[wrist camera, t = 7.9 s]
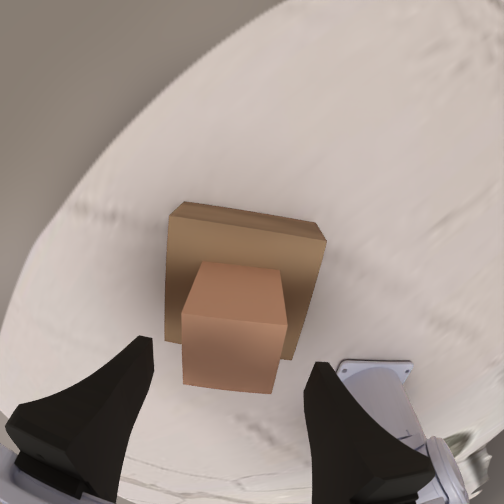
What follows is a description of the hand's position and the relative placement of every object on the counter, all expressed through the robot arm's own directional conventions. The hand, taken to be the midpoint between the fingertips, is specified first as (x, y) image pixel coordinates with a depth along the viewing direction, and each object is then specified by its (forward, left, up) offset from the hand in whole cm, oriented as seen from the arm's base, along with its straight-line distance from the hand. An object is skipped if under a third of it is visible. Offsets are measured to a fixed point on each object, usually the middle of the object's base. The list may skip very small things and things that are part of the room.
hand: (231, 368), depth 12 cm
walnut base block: (0, 0, -10) cm, 10 cm away
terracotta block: (0, 0, -6) cm, 6 cm away
